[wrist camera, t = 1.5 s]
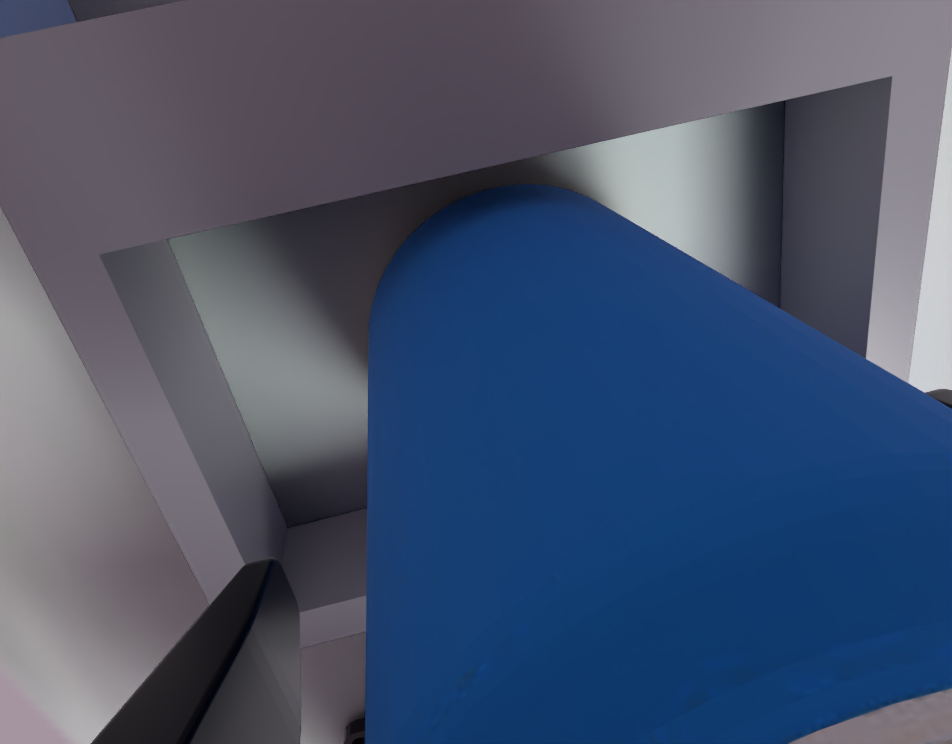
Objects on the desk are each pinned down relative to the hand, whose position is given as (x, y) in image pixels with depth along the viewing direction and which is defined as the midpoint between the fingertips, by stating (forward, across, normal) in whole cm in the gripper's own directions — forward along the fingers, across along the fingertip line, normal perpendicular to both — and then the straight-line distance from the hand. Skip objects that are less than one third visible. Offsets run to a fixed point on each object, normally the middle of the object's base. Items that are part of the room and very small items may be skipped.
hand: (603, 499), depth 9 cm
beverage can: (+7, 0, 0) cm, 7 cm away
